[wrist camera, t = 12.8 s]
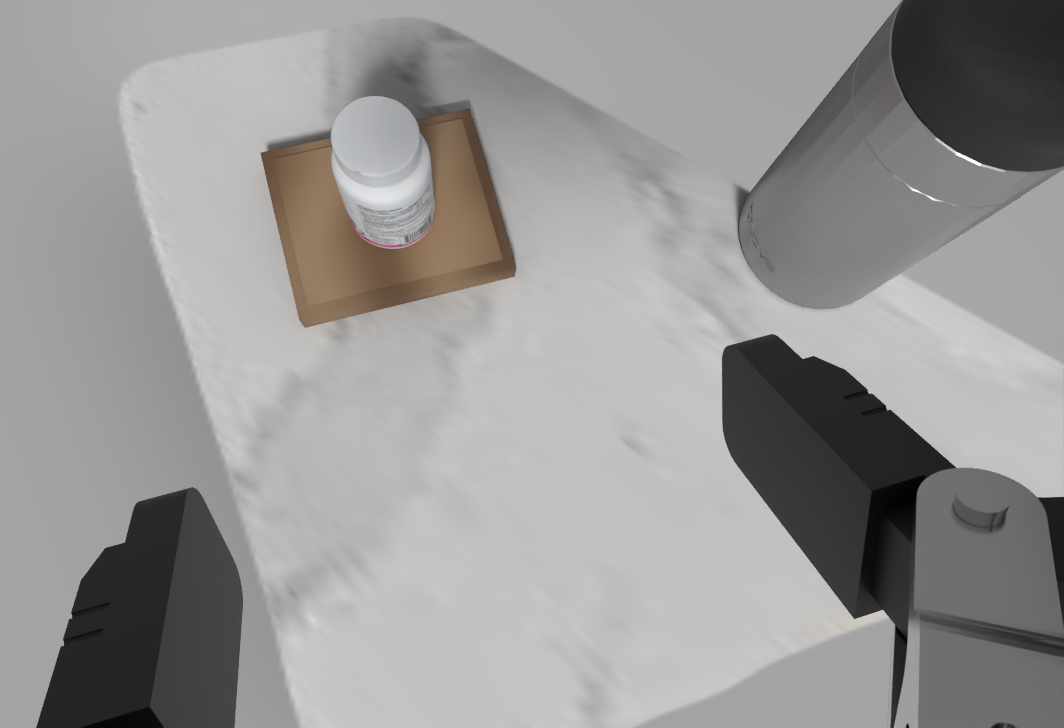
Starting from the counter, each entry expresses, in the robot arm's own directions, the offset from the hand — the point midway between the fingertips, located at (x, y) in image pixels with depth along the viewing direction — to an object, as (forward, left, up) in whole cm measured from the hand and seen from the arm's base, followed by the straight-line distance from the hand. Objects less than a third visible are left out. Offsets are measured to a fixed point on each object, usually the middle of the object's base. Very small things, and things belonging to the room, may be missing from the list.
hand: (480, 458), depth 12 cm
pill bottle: (0, -17, -29) cm, 34 cm away
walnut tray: (0, -18, -31) cm, 35 cm away
